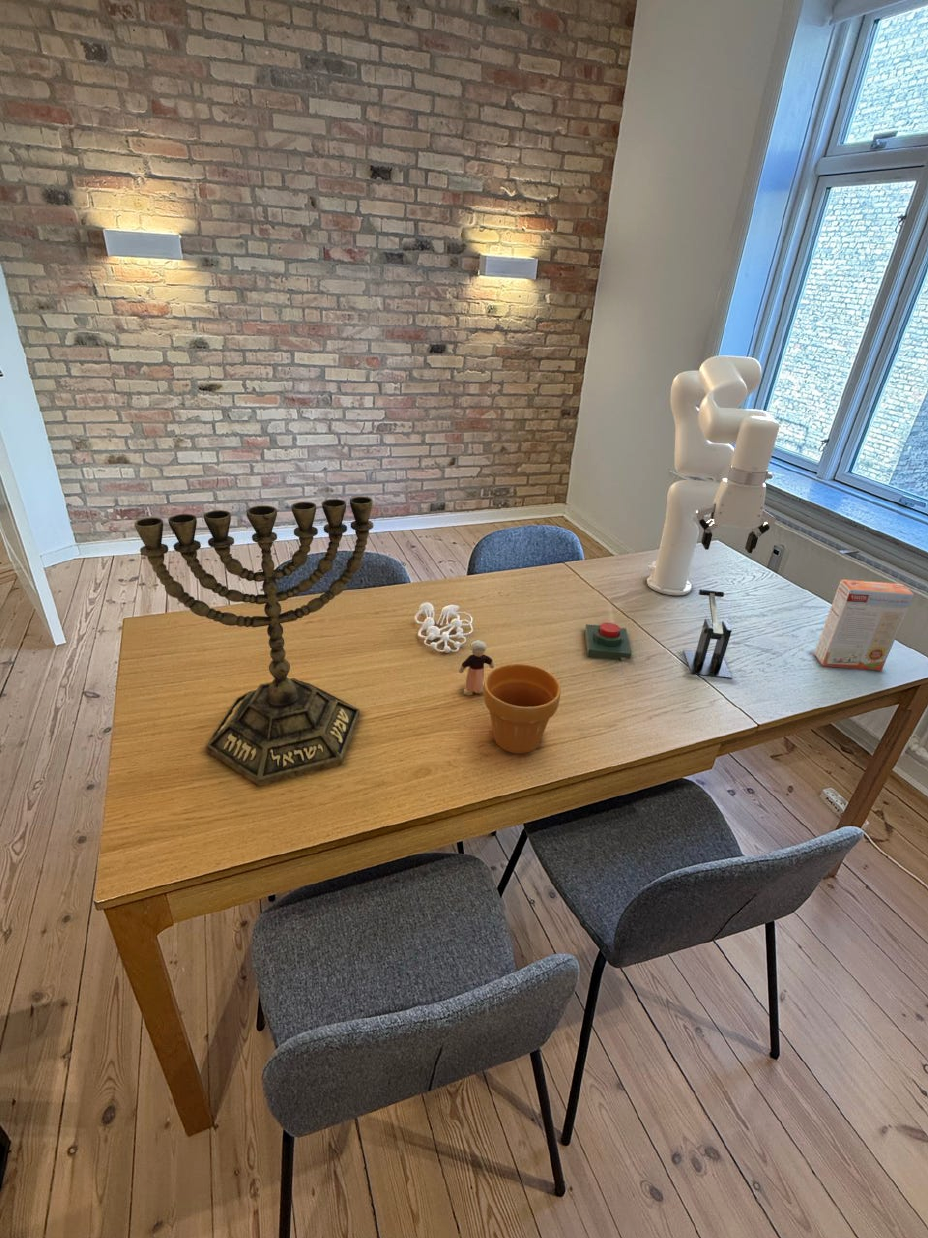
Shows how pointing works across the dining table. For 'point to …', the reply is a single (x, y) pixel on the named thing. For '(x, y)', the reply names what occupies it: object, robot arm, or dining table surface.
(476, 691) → the grandmother figurine
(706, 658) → the switch bracket
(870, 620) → the cracker box
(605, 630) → the red button
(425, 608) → the tangled rod sculpture
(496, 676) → the flower pot
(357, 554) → the menorah
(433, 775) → the dining table surface
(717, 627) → the switch lever
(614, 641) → the button box
